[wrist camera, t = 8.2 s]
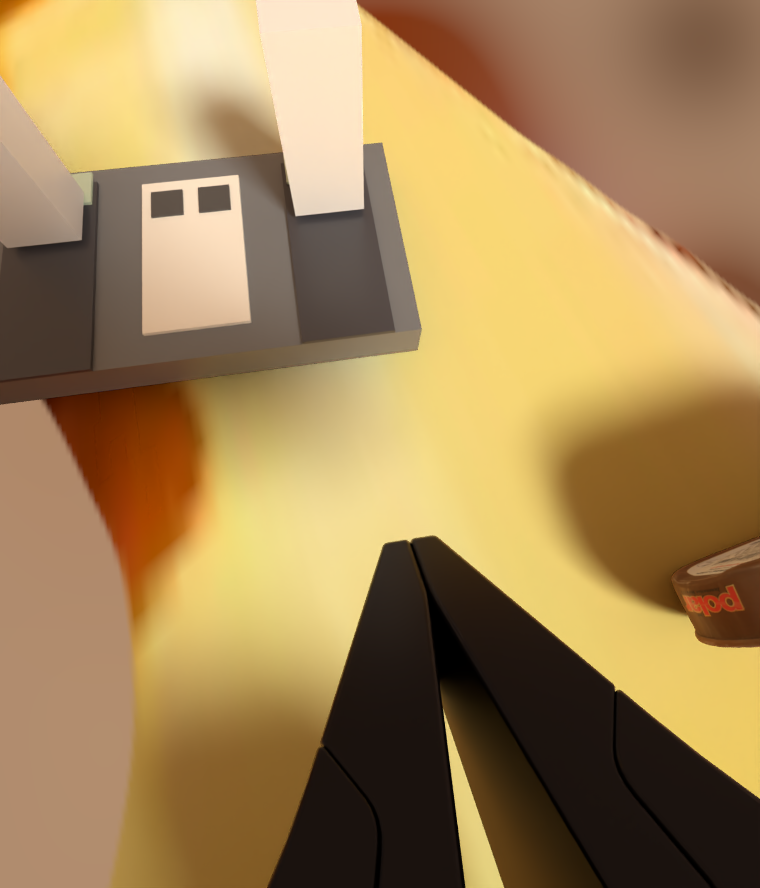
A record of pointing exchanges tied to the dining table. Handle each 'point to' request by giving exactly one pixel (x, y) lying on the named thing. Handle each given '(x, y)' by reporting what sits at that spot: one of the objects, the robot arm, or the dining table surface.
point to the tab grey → (33, 183)
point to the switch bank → (203, 281)
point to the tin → (723, 595)
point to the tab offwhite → (317, 99)
